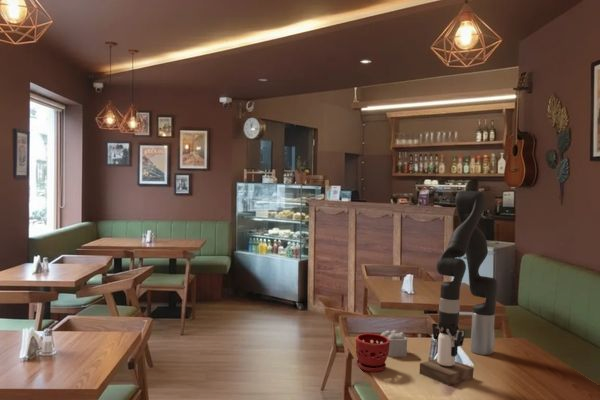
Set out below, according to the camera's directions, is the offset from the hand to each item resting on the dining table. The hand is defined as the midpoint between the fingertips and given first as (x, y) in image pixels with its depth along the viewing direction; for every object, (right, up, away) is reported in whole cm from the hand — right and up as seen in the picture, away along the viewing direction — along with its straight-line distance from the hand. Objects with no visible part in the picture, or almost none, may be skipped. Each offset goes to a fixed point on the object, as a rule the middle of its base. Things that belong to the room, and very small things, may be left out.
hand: (447, 353), depth 203 cm
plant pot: (-28, -8, +6) cm, 30 cm away
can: (0, -4, +1) cm, 4 cm away
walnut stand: (0, -9, 0) cm, 9 cm away
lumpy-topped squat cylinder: (-16, -7, +27) cm, 32 cm away
